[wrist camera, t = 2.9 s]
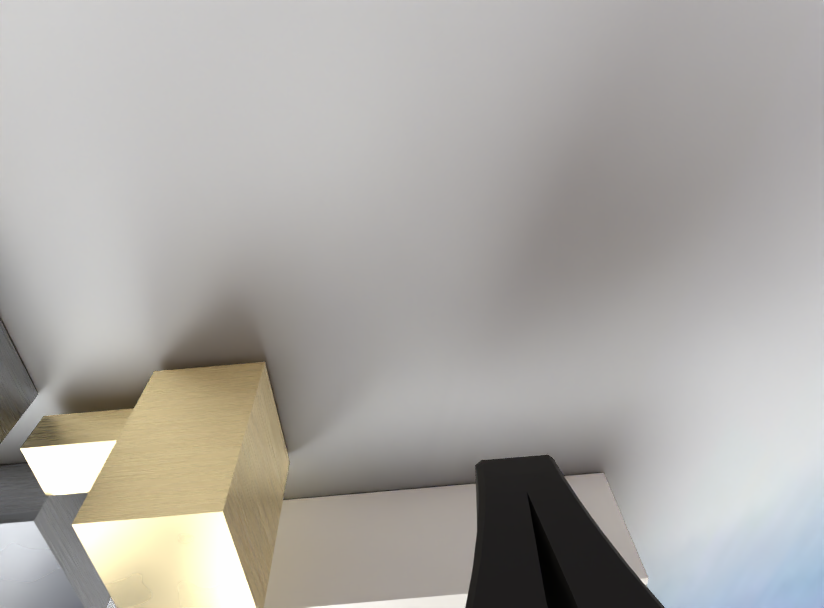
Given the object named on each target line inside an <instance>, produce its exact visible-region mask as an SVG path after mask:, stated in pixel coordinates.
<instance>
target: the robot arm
mask: <svg viewBox="0 0 824 608" xmlns="http://www.w3.org/2000/svg"><path fill="white" fill-rule="evenodd" d="M475 469H476V508H477V535H476V544H475V552H474V561H473V568H472V575H471V580H470V585H469V591H468V596H467V601H466V607H465V608H665V607H664V606H663V605H662V604H661V603H660V602H659V600H658V599H657V598H656V597H655V596H654V595H653V593H652V592H651V591H650V590H649V589H648V588H647V587H646V585H645V584H644V583H643V582H642V581H641V580H640V578H639V577H638V576H637V575H636V573H635V572H634V571H633V570H632V569H631V567H630V566H629V565H628V564H627V562H626V561H625V560H624V559H623V557H622V556H621V555H620V553H619V552H618V551H617V550H616V548H615V547H614V546H613V544H612V543H611V542H610V541H609V539H608V538H607V537H606V535H605V534H604V533H603V532H602V530H601V529H600V528H599V526H598V525H597V523H596V522H595V521H594V519H593V518H592V517H591V515H590V514H589V512H588V511H587V510H586V508H585V507H584V505H583V504H582V502H581V501H580V500H579V498H578V497H577V495H576V494H575V492H574V491H573V489H572V488H571V486H570V485H569V483H568V482H567V480H566V479H565V477H564V475H563V474H562V472H561V471H560V469H559V467H558V466H557V464H556V462H555V461H554V459H553V458H552V457H550V456H549V455H541V456H529V457H517V458H505V459H493V460H481V461H480V462H479V463H478V464H477V465H475Z"/></svg>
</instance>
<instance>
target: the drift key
mask: <svg viewBox="0 0 824 608" xmlns="http://www.w3.org/2000/svg"><path fill="white" fill-rule="evenodd" d="M20 449H21V451H22V453H23V455H24V457H25V458H26V460H27V462H28V464H29V466H30V467H31V469H32V471H33V473H34V475H35V476H36V478H37V480H38V482H39V484H40V485H41V487H42V489H43V491H44V493H45V494H46V496H51V495H63V494H75V493H86V492H89V493H88V495H87V497H86V499H85V500H84V502H83V504H82V506H81V508H80V510H79V512H78V513H77V515H76V517H75V519H74V521H73V523H72V526H73V528H74V530H75V532H76V533H77V535H78V537H79V539H80V541H81V543H82V545H83V546H84V548H85V550H86V552H87V554H88V556H89V557H90V559H91V561H92V563H93V565H94V567H95V568H96V570H97V572H98V574H99V576H100V578H101V579H102V581H103V583H104V585H105V587H106V589H107V590H108V592H109V594H110V596H111V598H112V600H113V602H114V603H115V605H116V607H117V608H264V603H265V597H266V592H267V586H268V581H269V575H270V569H271V564H272V558H273V553H274V547H275V541H276V536H277V530H278V525H279V519H280V513H281V508H282V502H283V497H284V491H285V485H286V480H287V474H288V469H289V463H290V462H289V457H288V453H287V449H286V445H285V441H284V437H283V433H282V429H281V425H280V421H279V417H278V413H277V409H276V405H275V401H274V396H273V392H272V388H271V384H270V380H269V376H268V372H267V368H266V364H265V362H257V363H245V364H233V365H222V366H210V367H198V368H187V369H175V370H163V371H154V372H153V374H152V376H151V378H150V380H149V382H148V383H147V385H146V387H145V389H144V391H143V393H142V395H141V396H140V398H139V400H138V402H137V404H136V406H135V408H131V409H120V410H108V411H96V412H85V413H73V414H61V415H50V416H43V418H42V419H41V420H40V422H39V423H38V425H37V426H36V427H35V429H34V430H33V432H32V433H31V434H30V436H29V437H28V438H27V440H26V441H25V443H24V444H23V445H22V447H21V448H20Z"/></svg>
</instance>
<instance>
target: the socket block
mask: <svg viewBox="0 0 824 608" xmlns="http://www.w3.org/2000/svg"><path fill="white" fill-rule="evenodd" d="M37 395H38V393H37V391H36V389H35V387H34V385H33V383H32V381H31V379H30V377H29V375H28V373H27V371H26V369H25V367H24V365H23V363H22V361H21V359H20V357H19V355H18V353H17V351H16V349H15V347H14V345H13V343H12V341H11V339H10V337H9V335H8V333H7V331H6V329H5V327H4V325H3V323H2V321H1V319H0V444H1V442H2V441H3V440H4V438H5V437H6V436H7V434H8V433H9V432H10V431H11V429H12V428H13V427H14V425H15V424H16V423H17V421H18V420H19V419H20V418H21V416H22V415H23V414H24V412H25V411H26V410H27V408H28V407H29V406H30V405H31V403H32V402H33V401H34V399H35V398H36V397H37ZM87 495H88V492H86V493H75V494H63V495H51V496H46V494H45V493H44V491H43V489H42V487H41V485H40V484H39V482H38V480H37V478H36V476H35V475H34V473H33V471H32V469H31V467H30V466H29V464H28V463H24V464H12V465H1V466H0V608H106V607H107V605H108V603H109V600H110V598H111V596H110V594H109V592H108V590H107V589H106V587H105V585H104V583H103V581H102V579H101V578H100V576H99V574H98V572H97V570H96V568H95V567H94V565H93V563H92V561H91V559H90V557H89V556H88V554H87V552H86V550H85V548H84V546H83V545H82V543H81V541H80V539H79V537H78V535H77V533H76V532H75V530H74V528H73V526H72V523H73V521H74V519H75V517H76V515H77V513H78V512H79V510H80V508H81V506H82V504H83V502H84V500H85V499H86V497H87Z"/></svg>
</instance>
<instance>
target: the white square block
mask: <svg viewBox="0 0 824 608" xmlns="http://www.w3.org/2000/svg"><path fill="white" fill-rule="evenodd" d="M564 477H565V479H566V480H567V482H568V483H569V485H570V486H571V488H572V489H573V491H574V492H575V494H576V495H577V497H578V498H579V500H580V501H581V502H582V504H583V505H584V507H585V508H586V510H587V511H588V512H589V514H590V515H591V517H592V518H593V519H594V521H595V522H596V523H597V525H598V526H599V528H600V529H601V530H602V532H603V533H604V534H605V535H606V537H607V538H608V539H609V541H610V542H611V543H612V544H613V546H614V547H615V548H616V550H617V551H618V552H619V553H620V555H621V556H622V557H623V559H624V560H625V561H626V562H627V564H628V565H629V566H630V567H631V569H632V570H633V571H634V572H635V573H636V575H637V576H638V577H639V578H640V580H641V581H642V582H643V583H644V584H645V585H646V587H647V582H648V576H647V574H646V571H645V569H644V567H643V564H642V562H641V560H640V557H639V555H638V553H637V550H636V548H635V545H634V543H633V541H632V538H631V536H630V534H629V531H628V529H627V527H626V524H625V522H624V519H623V517H622V515H621V512H620V510H619V508H618V505H617V503H616V501H615V498H614V496H613V494H612V491H611V489H610V486H609V484H608V482H607V479H606V477H605V475H604V473H594V474H583V475H571V476H564ZM476 535H477V508H476V484H466V485H454V486H442V487H431V488H419V489H407V490H396V491H384V492H372V493H360V494H349V495H337V496H325V497H314V498H302V499H290V500H283V502H282V508H281V513H280V519H279V525H278V530H277V536H276V541H275V547H274V553H273V558H272V564H271V569H270V575H269V581H268V586H267V592H266V597H265V603H264V608H465V607H466V601H467V596H468V591H469V585H470V580H471V575H472V568H473V561H474V552H475V544H476Z"/></svg>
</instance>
